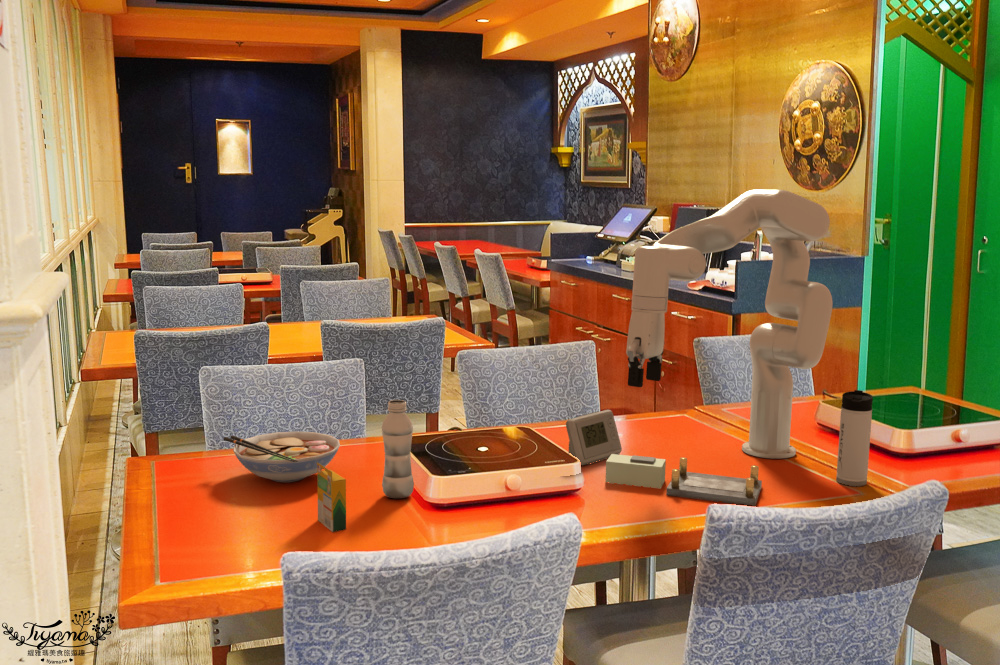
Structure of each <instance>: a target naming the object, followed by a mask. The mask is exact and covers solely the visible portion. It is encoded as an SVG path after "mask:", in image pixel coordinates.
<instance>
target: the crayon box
mask: <svg viewBox="0 0 1000 665" xmlns="http://www.w3.org/2000/svg"><path fill="white" fill-rule="evenodd" d="M316 474H317V477H316V478H317V482H316V484H317V522H319V523H321V524H322V525H323V526H324V527H325V528H327V529H328V530H329V531H331V533H337V532H340V531H345V530H347V479H346V478H344V477H343V476H341V475H340V474H338V473H337V472H335V471H333V470H332V469H328V468H327V467H326V466H325V467H324V466H322V465H321V464H319V463H318V462H317V473H316Z"/></svg>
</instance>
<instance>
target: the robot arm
mask: <svg viewBox="0 0 1000 665" xmlns="http://www.w3.org/2000/svg"><path fill="white" fill-rule="evenodd" d="M830 222H831V221H830V215H829V213H828V211H827V210H826V209H825V207H824V206H823V205H821V204H819V203H817V202H815V201H813V200H810V199H807V198H805V197H804V196H801V195H800V194H797V193H794V192H792V191H789V190H785V189H768V188H767V189H762V188H761V189H756V188H754V189H750V190H747V191H745V192H743V193H742V194H740V195H739V196H737V197H736V198H734V199H733V200H732V201H731V202H729V203H727V204H726V205H724V206H723V207H722V208H720V209H719V210H717V211H716V212H715V213H712V215H710V216H708V217H704V218H702V219H699V220H696V221H694V222H692V223H689V224H686V225H683V226H682V227H681V226H680V227H679V228H677V229H673V230H672V231H670V232H669V233H667V234H665V235H664V236H663V237H661V238H660V239H657V241H655V242H654V243H653V244H652V245H640V246H638V247H637V248H636V249H635V254H634V263H633V264H634V265H633V277H632V278H633V280H632V295H631V315H630V320H629V323H628V324H629V325H628V333H627V341H626V350H625V354H626V356H627V357H628V358H627V361H628V363H627V367H628V372H627V373H628V374H627V375H628V376H627V386H629V387H636V388H642V387H643V385H644V371H645V370H644V368H643V366H644V363H645V360H646V359H648V361H646V374H645V379H646V380H647V381H652V382H653V381H655V382H659V381H661V378H662V363H663V354H664V348H665V333H666V332H665V331H666V330H665V329H666V328H665V325H666V324H665V323H666V320H665V314H666V313H667V312H668V305H669V304H668V301H669V300H668V299H669V287H670V284H669V283H670V280H672V281H678V282H693V281H695V280H697V279H699V278H700V277H701V276H702V275H703V274H704V273H705V270H706V267H707V260H706V257H705V255H706V254H712V253H713V254H714V253H718V252H723V251H726V250H729V249H732V248H734V247H735V246H737V245H738V244H739V243H740V242H742V241H743V240H744V239H745V238H747V237H749V236H750V235H751V234H753V233H754V232H756V231H757V230H759V229H761V231H762V233H763V235H765V238H766V239H767V242H769V245H770V248H771V250H772V265H771V269H770V274H769V280H768V286H767V289H766V295H765V300H764V306H765V311H766V312H767V313H768V314H769V315H770V316H772V317H775V318H779V319H784V320H788V321H789V320H790V321H795V322H797V326H794V325H789V324H782V323H777V322H776V323H775V322H766V323H762V324H759V325H758V326H756V327H755V328H754V329H753V331H752V332H751V334H750V338H749V350H750V358H751V367H752V375H751V376H752V377H751V378H752V379H751V380H752V381H751V397H750V398H751V399H750V414H749V416H750V418H749V434H748V441H747V442H744V443H742V445H741V450H742V452H744V453H745V454H747V455H750V456H754V457H756V458H763V459H772V460H773V459H775V460H776V459H779V460H780V459H789V458H792V457H795V455H796V454H797V453H796V452H797V450H796V448H795V447H794V446H793V445H791V443H790V442H791V441H790V440H791V439H790V438H791V426H792V425H791V423H792V409H793V394H794V392H793V391H794V379H793V374H792V372H791V368H794V369H800V370H810V369H813V368H814V367H816V366H817V365H818V364H819V362H820V360H821V359H822V356H823V353H824V350H825V345H826V341H827V336H828V332H829V328H830V322H831V317H832V312H833V304H834V303H833V296H832V294H831V291H830V290H829V288H828V287H827V286H826V285H825V284H823V283H820V282H817V281H810V280H809V272H810V271H809V270H810V265H811V258H810V253H809V250H808V248H807V246H806V244H805V242H816V241H819V240H821V239H822V238H824V237H825V236H826V234H828V230H829V228H830ZM704 254H705V255H704Z"/></svg>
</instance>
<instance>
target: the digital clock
mask: <svg viewBox="0 0 1000 665" xmlns="http://www.w3.org/2000/svg"><path fill="white" fill-rule="evenodd" d="M565 427H566V432H567V435H568V454H569V453H571V454H572V455H573V456H575V457H577V458H578V459H579V460H580V462H581V465H582V466H585V465H591V464H590V463H592V464H594V463H593V462H595V463H597V462H596V461H598V462H600V461H599V460H601V461H604V460H603V459H605V460H607V459H606V458H609V457H610V455H611V454H618V455H621V452H622V451H623V450H622V449H623V448H622V444H621V443H622V442H621V440H620V436H619V433H618V428H617V424H616V419H615V417H614V413H613V411H612V410H611V409H604V410H602V411H599V410H598V411H595V412H590V413H586V414H582V415H579V416H576V417H573V418H570V419H568V420H566V422H565Z"/></svg>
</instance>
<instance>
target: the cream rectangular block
mask: <svg viewBox="0 0 1000 665" xmlns="http://www.w3.org/2000/svg"><path fill="white" fill-rule="evenodd" d="M666 461H667V460H666V459H665V458H656V457H652V456H642V455H640V456H639V455H635V454H634V455H628V454H627V455H626V454H611V455H610V457H609V458H608V459H606V461H605V482H609V483H608V484H614V483H617V484H616V485H623V484H626V485H625V486H632V485H634V486H633V487H641V486H643V488H650V487H651V488H653V489H660V490H661V489H662V487H663V485H664V484H665V481H666V463H667V462H666Z"/></svg>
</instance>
